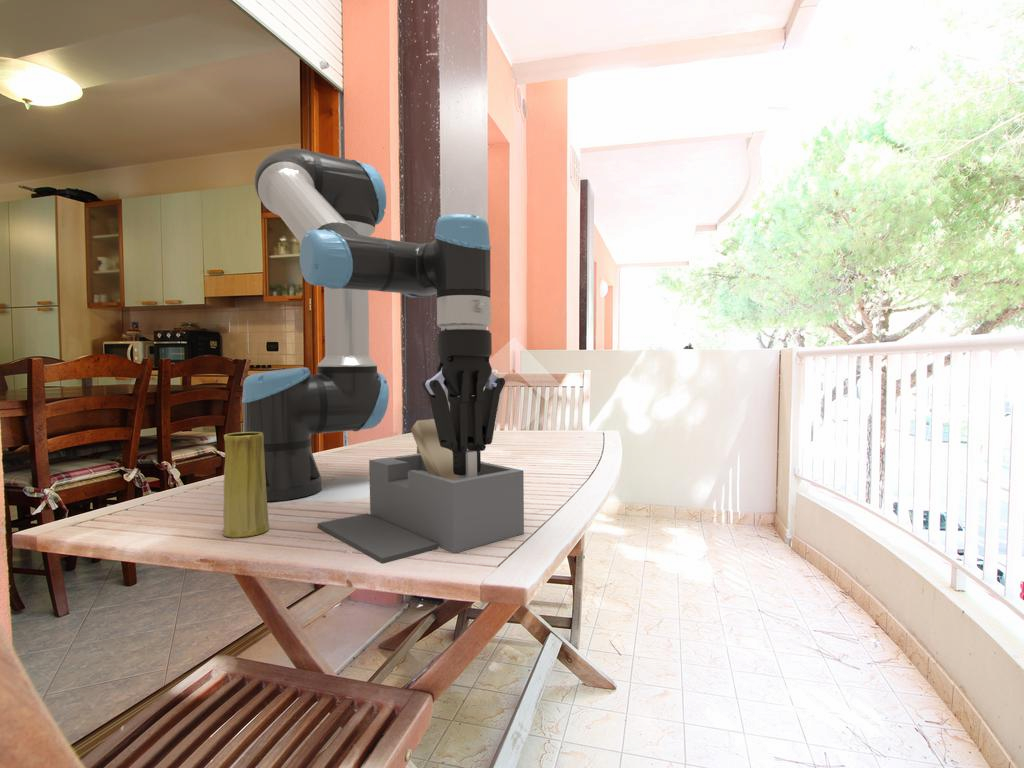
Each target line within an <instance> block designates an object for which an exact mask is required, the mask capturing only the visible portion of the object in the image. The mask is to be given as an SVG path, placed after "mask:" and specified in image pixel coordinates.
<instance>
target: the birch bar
mask: <svg viewBox="0 0 1024 768" xmlns="http://www.w3.org/2000/svg"><path fill="white" fill-rule="evenodd" d="M410 432H411V434H412V436H413V439H414V441H415V444H416V447H417V446H418V449H419V451H420V454H421V456H422V459H423V461H424V464H425V466H426V469H427V471H428V474H432V475H436V476H439V477H443V478H447V479H451V480H457V475H456V474H454V472H453V452H452V451H451V450H449V449H447V448H443V447H441V446H440V442H439V438H438V434H437V429H436V425H435V421H434V418H430V419H429V418H428V419H418V420H416V422H415V423H414V424H413V425H412V427H411V428H410Z"/></svg>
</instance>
